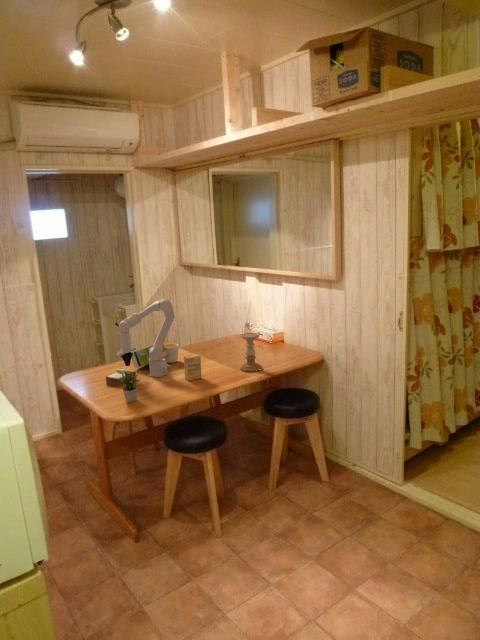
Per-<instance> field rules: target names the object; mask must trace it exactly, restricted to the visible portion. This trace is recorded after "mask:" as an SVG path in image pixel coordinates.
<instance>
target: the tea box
mask: <svg viewBox="0 0 480 640" xmlns="http://www.w3.org/2000/svg"><path fill="white" fill-rule="evenodd" d="M152 346H153V344H151V345H148V346H144V347H141V348H139V349H138V350H137V349H136V350H133V351H131V352H132V353H133V355H132V358H131V362H132V363H133V366H134V368H135V369H137V368H139V369H140V368H141V367H145V366H148V365H149V358H150V357H149V349H150V348H151V347H152ZM166 357H168V355H167V352H166V349H165V347H164V344H163V346H162V350H161V358H162V360H164V359H165V358H166Z"/></svg>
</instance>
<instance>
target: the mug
mask: <svg viewBox="0 0 480 640" xmlns="http://www.w3.org/2000/svg"><path fill="white" fill-rule="evenodd" d="M164 347H165V349H166V352H167V355H168V357H166V358H164V360H165V361H166V363H169V364H172V363H176V362H177V361H178V359H179V350H180V348H179V347H180V346H179V344H178V343H174V342H173V343H171V342H170V343H165V344H164Z"/></svg>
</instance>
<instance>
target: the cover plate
mask: <svg viewBox="0 0 480 640" xmlns="http://www.w3.org/2000/svg"><path fill="white" fill-rule="evenodd" d="M117 370H118V371H117ZM124 370H125V371H126V372H127V373H128V374H129V373H130V372H131V373H132V372H134V371H135V370H132V369H122V368H116V369H115V372H116V373H114V372H113V373H114V374H112V373H111V374H112V375H110V374H109V375H110V376H108V375H107V376H108V378H113V379H120V378H122V377H123V376H122V374H123V375H124V376H125V371H124ZM119 371H120V372H121V373H122V374H121V373H120V372H119ZM129 371H130V372H129ZM115 376H118V377H115Z"/></svg>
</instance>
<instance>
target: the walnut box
mask: <svg viewBox="0 0 480 640" xmlns="http://www.w3.org/2000/svg"><path fill="white" fill-rule="evenodd" d="M133 371H134V372H135V375H137V373H136V372H137V371H136V370H133ZM134 372H132V373H130V376H129V378H130V381H131V378H132V377H133V374H134ZM114 373H116V371H114V372H113V373H110V374H108V375H107V376H105V383H106V385H109V386H110V385H111V386H117V387H119V385H120V384H123V385H121V386H120V387H122V386H123V387H124V386H126V385H125V384H124V383H123V382H121V380H124V379H123V378H124V377H126V376H124V377H123V378H120V379H113V378H108V376H110V375H112V374H114ZM128 375H129V374H128ZM135 375H134V376H135ZM134 378H135V377H134ZM135 380H137V377H136V378H135Z"/></svg>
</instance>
